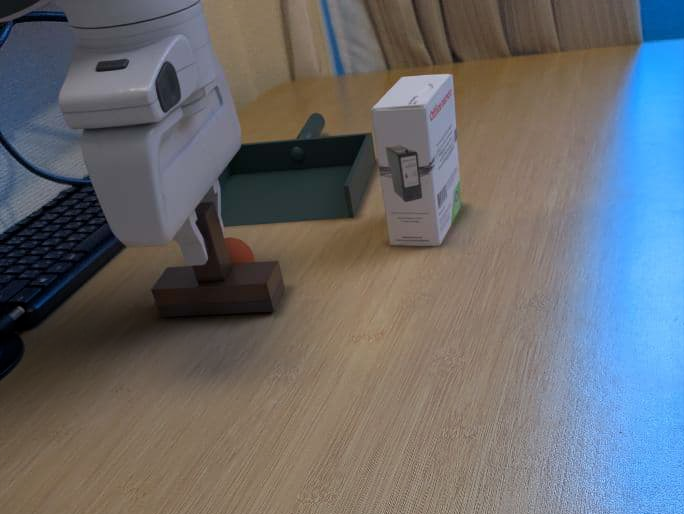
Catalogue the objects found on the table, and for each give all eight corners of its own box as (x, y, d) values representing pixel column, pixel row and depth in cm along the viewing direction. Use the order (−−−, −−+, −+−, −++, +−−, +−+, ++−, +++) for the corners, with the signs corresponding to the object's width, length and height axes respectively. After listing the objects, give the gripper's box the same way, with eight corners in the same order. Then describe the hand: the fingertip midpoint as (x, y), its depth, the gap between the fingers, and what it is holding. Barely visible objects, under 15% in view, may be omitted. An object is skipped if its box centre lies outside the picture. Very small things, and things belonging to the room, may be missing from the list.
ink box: (414, 207, 80) (399, 73, 72) (464, 207, 78) (454, 70, 70) (387, 247, 74) (368, 106, 66) (440, 247, 73) (426, 104, 65)
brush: (160, 317, 69) (126, 224, 63) (175, 294, 72) (144, 202, 66) (274, 311, 67) (249, 215, 62) (285, 288, 70) (262, 193, 64)
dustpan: (353, 218, 80) (348, 185, 78) (189, 229, 83) (180, 198, 81) (389, 128, 98) (386, 99, 96) (253, 140, 101) (247, 112, 98)
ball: (204, 289, 71) (197, 239, 69) (221, 284, 74) (215, 237, 73) (248, 287, 70) (242, 237, 68) (263, 282, 73) (258, 235, 72)
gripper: (158, 25, 65) (208, 200, 74) (44, 111, 50) (124, 315, 60) (234, 16, 64) (275, 196, 73) (140, 102, 49) (206, 311, 59)
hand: (206, 250), depth 66 cm, fingers closed on brush, 2 cm apart
